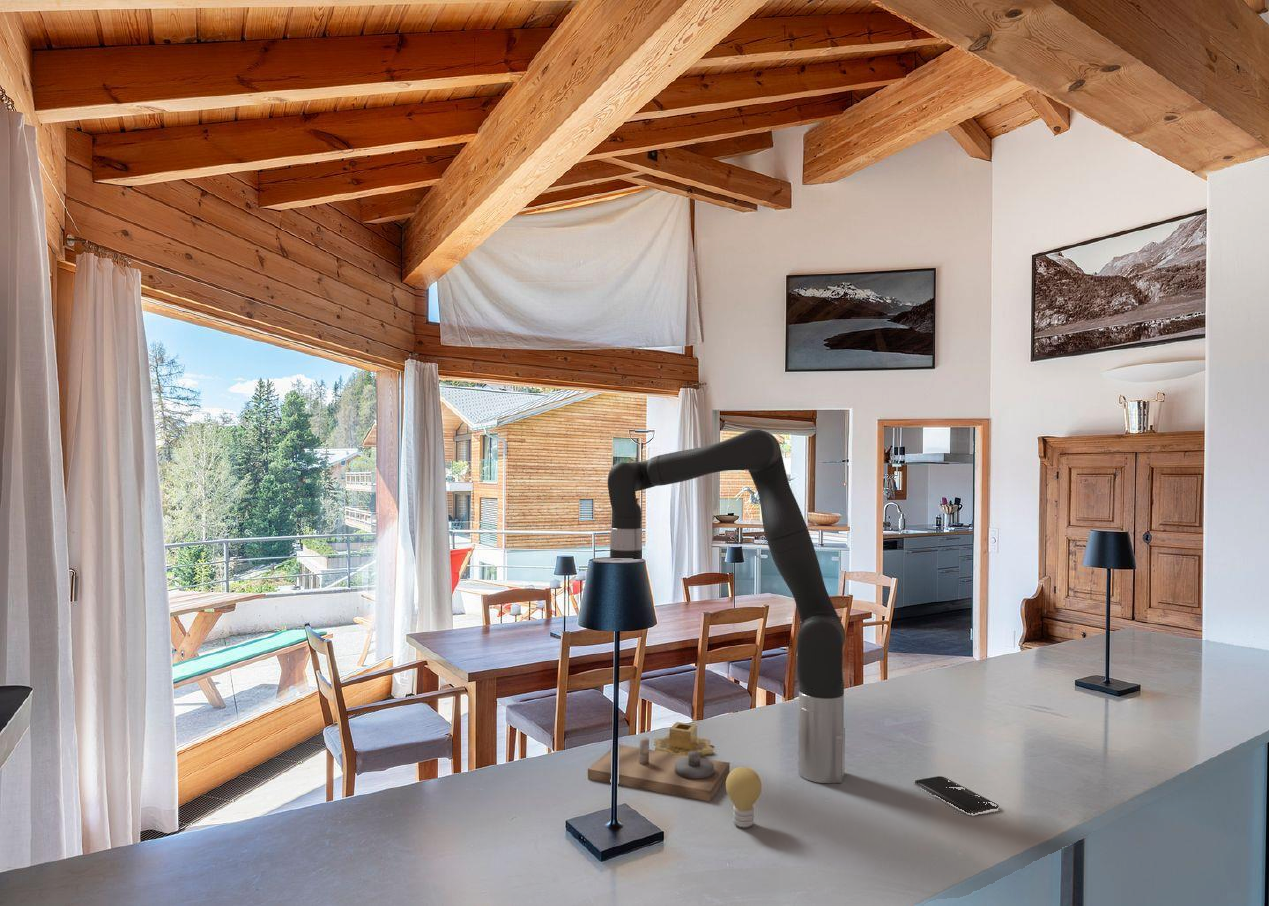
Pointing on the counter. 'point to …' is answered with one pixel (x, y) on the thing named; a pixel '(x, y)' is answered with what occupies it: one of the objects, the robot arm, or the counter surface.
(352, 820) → the counter surface
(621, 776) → the wooden peg board
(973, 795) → the phone
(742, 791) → the light bulb
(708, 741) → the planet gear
